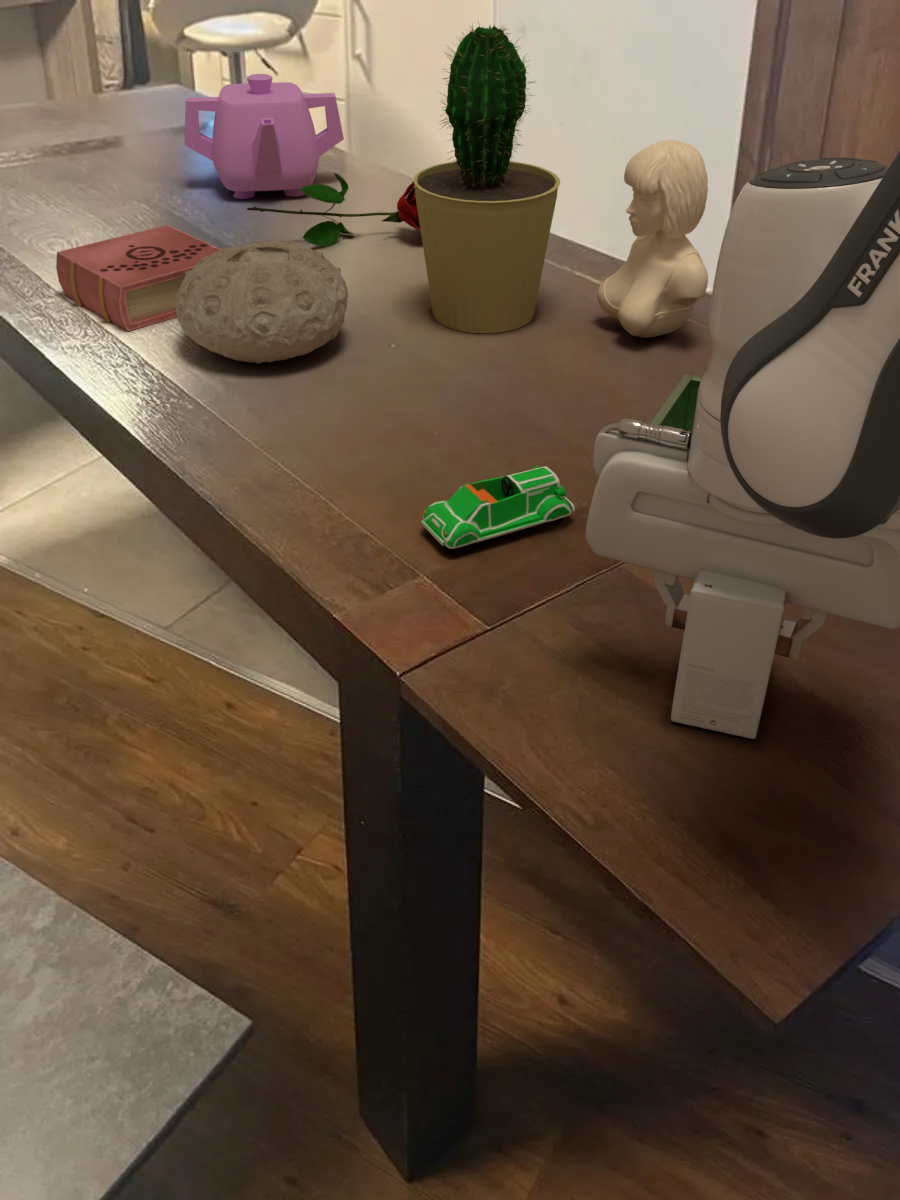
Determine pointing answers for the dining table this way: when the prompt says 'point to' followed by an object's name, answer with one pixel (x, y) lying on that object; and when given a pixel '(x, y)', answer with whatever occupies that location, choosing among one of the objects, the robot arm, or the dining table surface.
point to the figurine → (660, 242)
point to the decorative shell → (262, 301)
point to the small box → (727, 653)
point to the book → (131, 274)
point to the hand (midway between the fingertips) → (732, 637)
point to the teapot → (263, 135)
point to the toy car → (497, 508)
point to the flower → (331, 231)
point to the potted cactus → (485, 196)
